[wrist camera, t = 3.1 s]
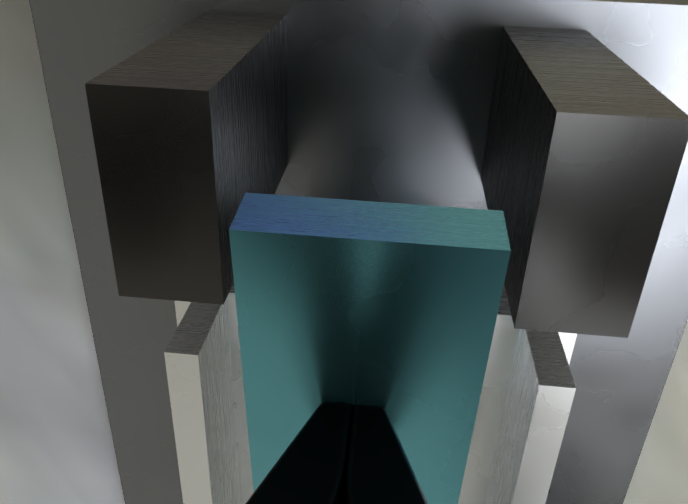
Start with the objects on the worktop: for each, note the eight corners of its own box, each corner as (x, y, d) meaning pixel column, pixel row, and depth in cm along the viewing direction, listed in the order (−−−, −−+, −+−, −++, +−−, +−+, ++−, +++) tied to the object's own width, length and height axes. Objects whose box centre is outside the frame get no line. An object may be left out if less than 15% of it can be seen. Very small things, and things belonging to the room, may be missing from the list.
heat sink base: (570, 579, 22) (628, 841, 16) (154, 534, 22) (61, 766, 17) (757, -2, 13) (1056, 95, 7) (61, -36, 14) (-210, 24, 8)
